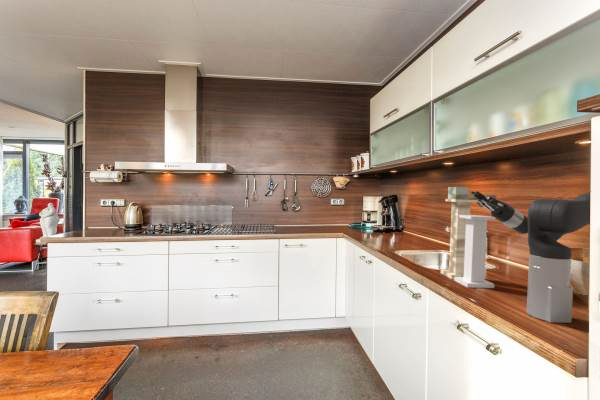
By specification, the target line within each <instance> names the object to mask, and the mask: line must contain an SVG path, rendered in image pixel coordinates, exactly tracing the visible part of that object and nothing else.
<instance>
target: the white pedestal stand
mask: <svg viewBox="0 0 600 400" xmlns="http://www.w3.org/2000/svg"><path fill="white" fill-rule="evenodd" d="M459 217H460V218H466V234H465V256H464V277H454V279H453V281H454V282H456V283H459V284H460V285H462V286H464V287H466V288H471V289H472V288H473V289H476V288H477V289H495V283H493V282H490V281H489V280H486V279H485V277H486V276H485V275H486V273H485V271H486V270H485V269H486V252H487V251H486V250H487V249H486V248H487V230H488V228H487V226H488V220H489V221H492V220H493V221H495V220H496V219H495V217H492V216H489V215H482V214H481V215H480V214H479V215H478V214H477V215H474V214H470V215H459Z"/></svg>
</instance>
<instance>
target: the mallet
mask: <svg viewBox="0 0 600 400" xmlns="http://www.w3.org/2000/svg"><path fill="white" fill-rule="evenodd" d="M447 191H448V192H447V199H463V200H480V199H478V198H477V197H475V196H474V194H470V193H469V187H468V186H448V188H447ZM482 194H483V195H484V196H487V197H492V198H494V199H496V200H497V194H489V193H488V194H485V193H482Z"/></svg>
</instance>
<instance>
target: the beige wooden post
mask: <svg viewBox="0 0 600 400" xmlns="http://www.w3.org/2000/svg"><path fill="white" fill-rule="evenodd" d="M445 202H449V203H450V202H451V214H450V215H451V217H450V234H449V235H450V237H449V238H450V239H449V263H448V269H440V274H441V275H443V276H445V277H447V278H449V279H450V280H454V277H464V256H465V234H466V218H460V217H459V215H471V203H476V202H478V200H463V199H448V198H445Z"/></svg>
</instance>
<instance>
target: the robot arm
mask: <svg viewBox="0 0 600 400" xmlns="http://www.w3.org/2000/svg"><path fill="white" fill-rule="evenodd" d="M590 192H591V191H590ZM590 192H585V193H581V194H579V195H578V196H576V197H575V198H574V199H572V200H571V199H555V198H554V199H553V198H552V199H551V198H550V199H549V198H538V199H535V200H533V201H532V202H531V204H530V205H529V207H528V213H527V215H525V214H524V213H522V212H520V211H519V210H518V209H516V208H514V207H513V206H512V205H510V204H508V203H507V202H504V201H500V200H499V199H497V198H496V199H494V198H492V197H487V196H484V195H483V194H484V193H482V192H480V191H478V190H477V191H474V190H473V191H472V190H471V192H470V193H469V194H474V196H475V197H477V198H478V199H480V200H478V202H475V204H477V205H478V206H479V207H480V208H483V207H484V208H485V209H486V210H487V211H490V212H491V213H490V214H491V217H495V220H497V221H498V222H499V223H501V224H503V225H505V226H507V227H509V228H511V229H512V230H514V231H515V232H516V233H517V232H518V233H519V234H521V235H525V234H527V244H528V248H529V257H528V271H527V272H528V275H527V276H528V277H527V293H526V294H527V296H526V313H527V314H528V315H529V316H531V317H533V318H535V319H538V320H543V321H545V322H548V323H558V324H560V323H563V324H565V323H568V324H571V323H572V313H573V312H572V311H573V296H574V295H573V294H574V288H572V287H571V285H570V284H571V269H572V268H571V267H572V266H571V265H572V249H571V248H570V247H569V246H567V245H565V244H562V243H560V242H558V240H560V239H561V238H562V237H563V236H565V235H567V234H571V233H574V232H577V231H579V230H581V229H582V228H584V227H586V226H588V225H591V224H590Z"/></svg>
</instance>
